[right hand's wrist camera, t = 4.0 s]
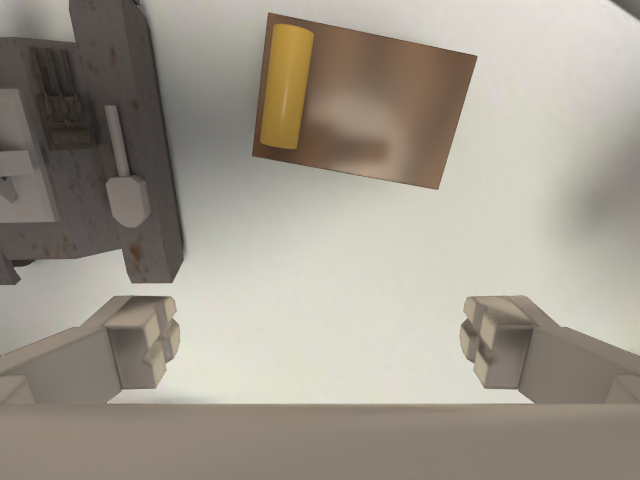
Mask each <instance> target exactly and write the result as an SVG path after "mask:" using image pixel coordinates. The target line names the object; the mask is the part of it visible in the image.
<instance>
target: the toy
mask: <svg viewBox="0 0 640 480" xmlns="http://www.w3.org/2000/svg"><path fill="white" fill-rule="evenodd" d="M136 5H140V1H139V0H69V12H70V16H71V21H72V26H73V30H74V35H75V40H76V43H73V42H62V41H51V40H40V39H29V38H17V37H8V38H0V285H16V284H17V283H18V282H19V281H20V280H21V278H20V277H19V275H18V274H17V272H16V271H15V270H14V267H21V266H26V265H29V264H31V263H32V262H34V261H35V260H36V259H77V258H81V257H86V256H90V255H95V254H99V253H103V252H108V251H112V250H117V249H121V248H122V252H123V256H124V261H125V265H126V270H127V274H128V276H129V278H130V281H131V283H172V282H173V280H174V278H175V276H176V274H177V272H178V270H179V268H180V266H181V264H182V262H183V260H184V258H183V252H182V250H183V237H182V231H181V225H180V218H179V212H178V206H177V199H176V193H175V187H174V181H173V174H172V168H171V162H170V155H169V149H168V143H167V136H166V130H165V124H164V118H163V111H162V105H161V99H160V92H159V86H158V80H157V74H156V67H155V61H154V55H153V48H152V42H151V36H150V30H149V27H148V25H147V23H146V20H145V17H144V16H143V14H142V13H141V12H140V10H139V9H138V7H137V6H136Z"/></svg>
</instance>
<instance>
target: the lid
mask: <svg viewBox="0 0 640 480" xmlns="http://www.w3.org/2000/svg"><path fill="white" fill-rule="evenodd" d="M476 60H477V56H475V55H471V54H466V53H461V52H456V51H451V50H447V49H442V48H437V47H432V46H427V45H423V44H418V43H413V42H408V41H403V40H398V39H394V38H389V37H384V36H379V35H374V34H370V33H365V32H360V31H355V30H350V29H345V28H341V27H336V26H331V25H326V24H321V23H317V22H312V21H307V20H302V19H297V18H293V17H288V16H283V15H278V14H273V13H268V19H267V28H266V37H265V46H264V55H263V63H262V72H261V81H260V90H259V99H258V108H257V117H256V125H255V134H254V143H253V152H252V156H255V157H260V158H266V159H271V160H277V161H282V162H288V163H293V164H299V165H304V166H310V167H315V168H321V169H326V170H332V171H337V172H343V173H348V174H354V175H359V176H365V177H370V178H376V179H381V180H387V181H392V182H398V183H403V184H409V185H414V186H420V187H425V188H431V189H436V190H438V188H439V185H440V181H441V178H442V174H443V171H444V168H445V164H446V161H447V158H448V154H449V151H450V148H451V144H452V141H453V137H454V134H455V131H456V127H457V124H458V121H459V117H460V114H461V111H462V107H463V104H464V100H465V97H466V94H467V90H468V87H469V84H470V80H471V77H472V74H473V70H474V67H475V63H476Z"/></svg>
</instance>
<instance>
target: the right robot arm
mask: <svg viewBox="0 0 640 480" xmlns="http://www.w3.org/2000/svg"><path fill="white" fill-rule="evenodd" d="M176 311H177V310H176V305H175V300H174V299H173V298H172V297H170V296H134V295H132V296H114V297H113V298H111V299H110V300H109V301H108V302H107V303H106V304H105V305H104V306H102V307H101V308H100V309H99V310H98V311H97V312H96V313H95V314H93V315H92V316H91V317H90V318H89V319H88V320H87V321H86V322H84V323H83V324H82V325H81V326H80V327H72V328H70V329H67V330H65V331H62V332H60V333H57V334H55V335H52V336H50V337H47V338H45V339H42V340H40V341H37V342H35V343H32V344H30V345H27V346H25V347H22V348H20V349H17V350H15V351H12V352H10V353H7V354H5V355H2V356H0V480H640V356H638V355H635V354H633V353H630V352H628V351H625V350H623V349H620V348H618V347H615V346H613V345H610V344H608V343H605V342H603V341H600V340H598V339H595V338H593V337H590V336H588V335H585V334H583V333H580V332H578V331H575V330H573V329H570V328H568V327H560V326H559V325H558V324H557V323H556V322H555V321H553V320H552V319H551V318H550V317H549V316H548V315H547V314H546V313H544V312H543V311H542V310H541V309H540V308H539V307H538V306H537V305H535V304H534V303H533V302H532V301H531V300H530V299H529V298H528V297H526V296H522V295H519V296H477V297H467V299H466V301H465V304H464V310H463V311H464V313H465V314H466V316H467V317H468V318H467V319H466V320H465V321H464V322H463V323H462V324H461V330H460V342H461V347H462V350H463V353H464V355H465V357H466V358H467V359H468V360H470V361H471V362H473V363H474V372H475V374H476V375H477V377H478V379H479V380H480V382H481V384H482V385H483V387H484V389H519V390H518V391H519V392H521V393H522V394H523V395H525V396H526V397H527V398H529V399H530V400H531V401H533V402H534V403H535V404H105V403H106V402H107V401H109V400H110V399H112V398H113V397H114V396H116V395H117V394H118V393H120V392H121V389H155V388H156V387H157V385H158V384H159V382H160V380H161V379H162V377H163V375H164V374H165V372H166V363H167V362H169V361H170V360H172V359H173V358H174V357H175V355H176V353H177V351H178V347H179V343H180V329H179V324H178V323H177V322H176V321H175V320H174V319H173V318H172V317H173V316H174V314H175V313H176Z"/></svg>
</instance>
